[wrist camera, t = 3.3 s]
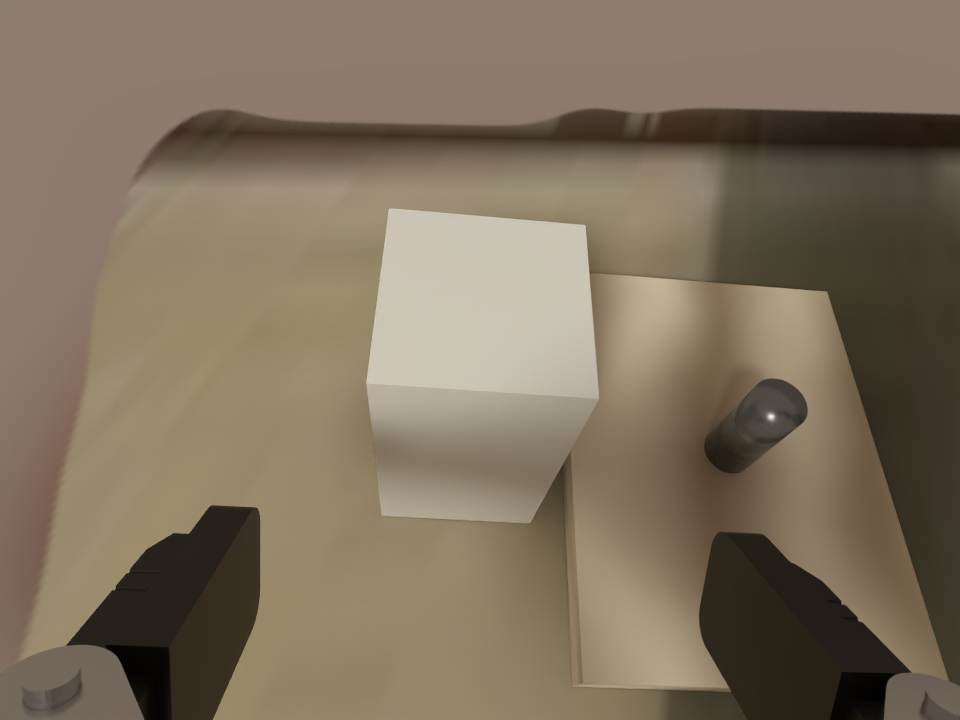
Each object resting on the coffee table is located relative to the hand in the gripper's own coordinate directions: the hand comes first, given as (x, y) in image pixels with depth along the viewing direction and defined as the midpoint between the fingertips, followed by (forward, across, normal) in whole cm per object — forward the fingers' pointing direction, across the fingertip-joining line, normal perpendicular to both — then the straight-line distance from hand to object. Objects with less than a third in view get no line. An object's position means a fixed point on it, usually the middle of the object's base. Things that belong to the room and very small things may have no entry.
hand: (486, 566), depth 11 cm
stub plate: (+13, -10, +3) cm, 17 cm away
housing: (+13, 0, +3) cm, 14 cm away
